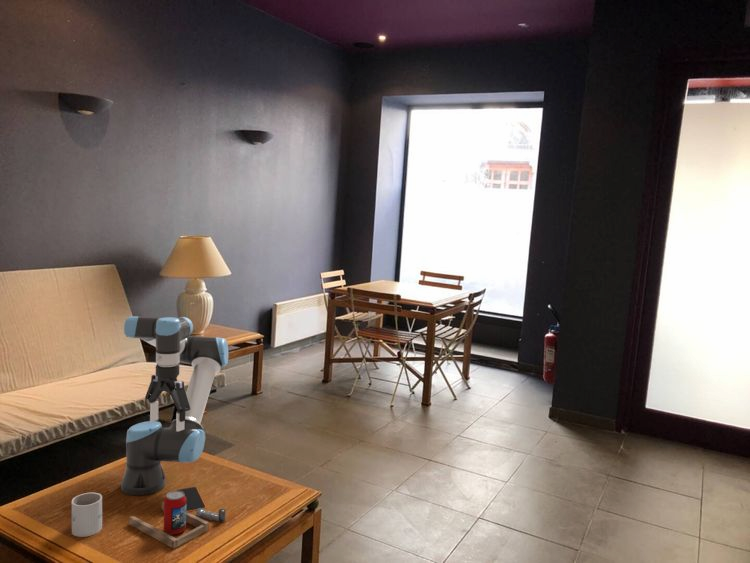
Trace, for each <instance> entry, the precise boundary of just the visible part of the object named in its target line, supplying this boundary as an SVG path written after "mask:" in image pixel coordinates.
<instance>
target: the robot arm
mask: <svg viewBox="0 0 750 563" xmlns="http://www.w3.org/2000/svg"><path fill="white" fill-rule="evenodd" d="M193 331H194V325H193V322H192V320H191V319H190V318H188V317H186V316H180V317H175V316H174V317H171V316H170V317H168V316H167V317H151V316H150V317H149V316H138V315H137V316H136V315H134V316H128V317H127V318H126V319H125V321H124V325H123V333H124V335H125V336H126V337H127V338H130V339H140V340H142V341H144V342H146V343H147V344H149V345H151V346H153V347H155V364H156V365H155V374H151V379H150V382H149V385H148V388H147V391H146V394H145V397H144V399H145V400H148V402H149V412H150V414H149V420H147V421H143V422H139V423H136V424H133V425H132V426H130V427H129V429H127V432H126V439H125V444H126V446H125V447H126V453H125V454H126V457H125V458H126V462H125V463H126V466H125V471H124V473H123V476H122V480H121V482H120V483H121V484H120V490H121V492H123V493H124V494H127V495H131V496H145V495H150V494H155V493H157V492H159V491H160V490H162V489H163V488H164V487H165V486H166V475H165V472H164V469H163V466H162V464H161V462H170V463H171V462H172V463H181V464H184V463H194V462H195V461H198V459H199V458H200V457H201V455H202V453H203V451H204V448H205V442H206V432H205V431H204V427H203V425H202V424H201V423H202V419H203V417H204V416H203V415H204V412H205V409H206V406H207V403H208V398H209V396H210V393H211V389H212V385H213V383H214V379H215V375H216V374H218V373H219V372H220V371H221V369H222V367H226V366H227V365H228V364H229V363H228V362H229V345H228V342H227V340H226V338H224V337H217V336H215V337H213V336H197V335H196V336H195V335H191V334H192V333H193ZM180 363H182V364H186V365H187V364H188V365H191V367H192V369H193V370H192V373H191V377H190V379H189V382H188V384H187V389H186V388H185V382H184V380H181V381H178V376H179V375H180ZM163 392H165V393H168V395H169V396H170V397H171V398H172V401H173V403H174V406H175V408H176V410H177V411H176V415H175V416H176V417H175V418H176V419H173V420H172V421H171V423H170V426H169V427H162V426H163V425H162V423H161V422H160V421H159V401H158V400H159V398H160V396H161V394H162V393H163Z"/></svg>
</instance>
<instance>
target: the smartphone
mask: <svg viewBox="0 0 750 563" xmlns="http://www.w3.org/2000/svg"><path fill="white" fill-rule="evenodd" d="M175 491H182V492H184V495H185V496H186V512H188V513H191V512H196V510H197V509H198V508H203V509H205V510H206V509H207V506H206V503H205V501H204V500H203V498H202V494H201V493H200V492H199V488H198V487H197V486H191V487H184V488H180V489H176V490H175Z"/></svg>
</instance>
